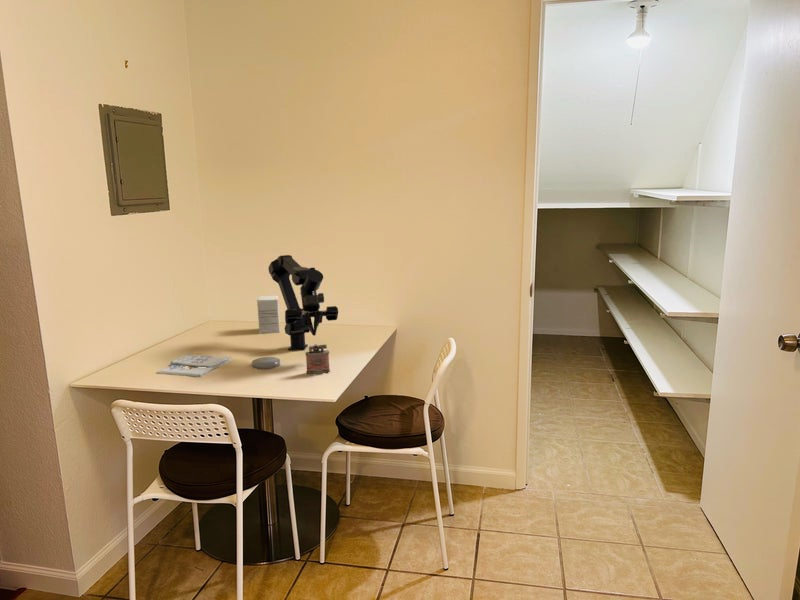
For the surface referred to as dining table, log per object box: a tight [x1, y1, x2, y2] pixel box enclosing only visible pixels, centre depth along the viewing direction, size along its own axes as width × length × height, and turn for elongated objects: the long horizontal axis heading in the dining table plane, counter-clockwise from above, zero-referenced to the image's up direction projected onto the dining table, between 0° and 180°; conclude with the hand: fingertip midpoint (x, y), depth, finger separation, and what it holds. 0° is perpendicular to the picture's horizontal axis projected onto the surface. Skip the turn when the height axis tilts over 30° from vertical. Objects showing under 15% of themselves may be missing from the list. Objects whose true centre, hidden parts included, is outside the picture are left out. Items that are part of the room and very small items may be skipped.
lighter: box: [305, 343, 331, 375], centre depth 206 cm, size 8×3×10 cm, turn 101°
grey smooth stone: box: [251, 356, 281, 370], centre depth 216 cm, size 10×10×2 cm
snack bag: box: [156, 354, 232, 378], centre depth 216 cm, size 19×20×2 cm
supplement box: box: [256, 295, 281, 334], centre depth 264 cm, size 9×9×15 cm
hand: (314, 335), depth 211 cm, fingers closed
